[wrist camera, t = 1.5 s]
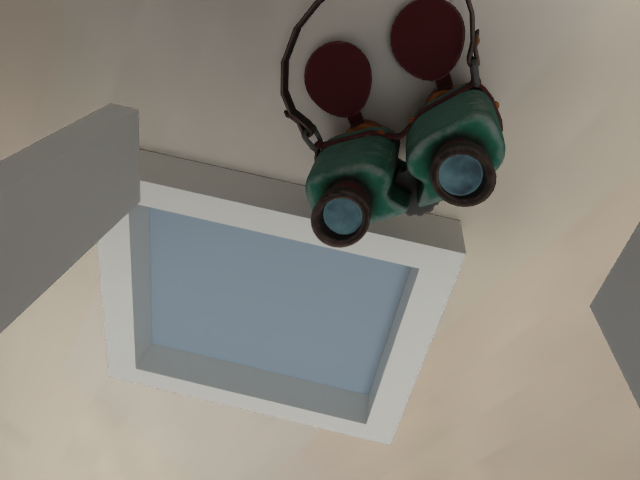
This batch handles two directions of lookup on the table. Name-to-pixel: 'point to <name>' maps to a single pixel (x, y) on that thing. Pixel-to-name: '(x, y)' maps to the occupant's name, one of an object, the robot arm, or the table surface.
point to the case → (271, 299)
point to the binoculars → (383, 144)
